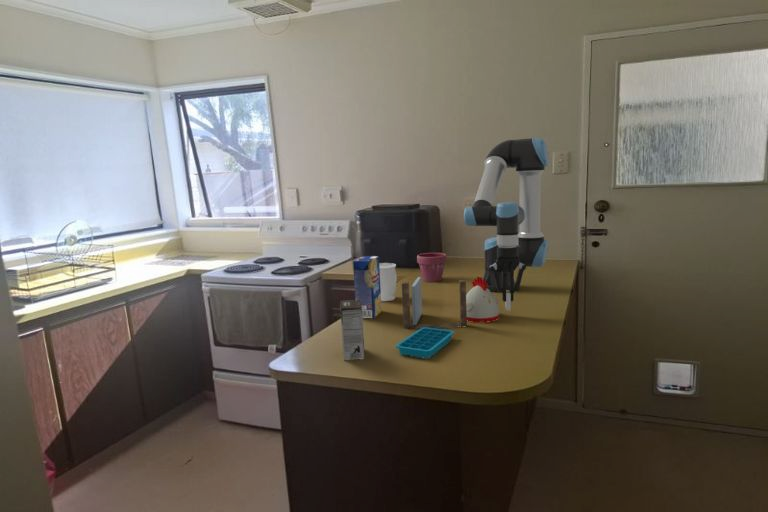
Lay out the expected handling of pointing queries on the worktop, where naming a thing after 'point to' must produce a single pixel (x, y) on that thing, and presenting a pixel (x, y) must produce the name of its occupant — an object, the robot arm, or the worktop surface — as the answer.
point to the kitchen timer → (481, 303)
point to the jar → (387, 281)
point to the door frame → (408, 324)
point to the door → (416, 300)
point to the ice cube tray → (425, 342)
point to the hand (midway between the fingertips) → (507, 309)
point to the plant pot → (431, 266)
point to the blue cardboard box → (368, 285)
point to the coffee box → (352, 329)
